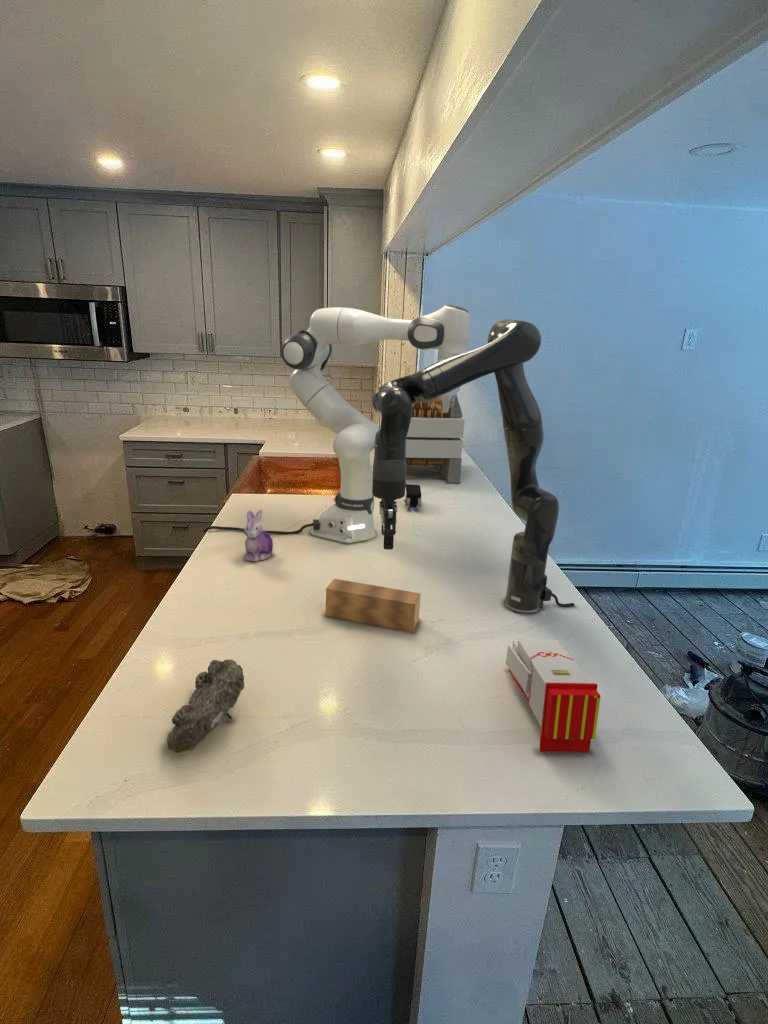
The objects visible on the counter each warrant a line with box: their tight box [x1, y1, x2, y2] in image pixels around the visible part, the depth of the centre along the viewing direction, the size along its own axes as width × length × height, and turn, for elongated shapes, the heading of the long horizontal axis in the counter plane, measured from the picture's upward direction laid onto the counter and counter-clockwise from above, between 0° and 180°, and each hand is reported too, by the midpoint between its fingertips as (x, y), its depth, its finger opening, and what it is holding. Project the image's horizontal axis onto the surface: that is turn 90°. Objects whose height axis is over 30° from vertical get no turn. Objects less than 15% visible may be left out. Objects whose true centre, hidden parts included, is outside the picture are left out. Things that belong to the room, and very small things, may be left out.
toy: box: [505, 638, 602, 753], centre depth 114 cm, size 12×13×30 cm
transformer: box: [406, 394, 465, 484], centre depth 268 cm, size 34×33×41 cm
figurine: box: [243, 508, 274, 562], centre depth 175 cm, size 9×10×15 cm
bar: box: [325, 578, 422, 633], centre depth 144 cm, size 23×6×8 cm, turn 74°
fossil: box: [166, 658, 245, 754], centre depth 106 cm, size 22×10×15 cm
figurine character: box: [403, 483, 422, 512], centre depth 227 cm, size 7×8×15 cm
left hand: (447, 409), depth 173 cm, fingers open, 8 cm apart
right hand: (387, 541), depth 134 cm, fingers open, 8 cm apart
